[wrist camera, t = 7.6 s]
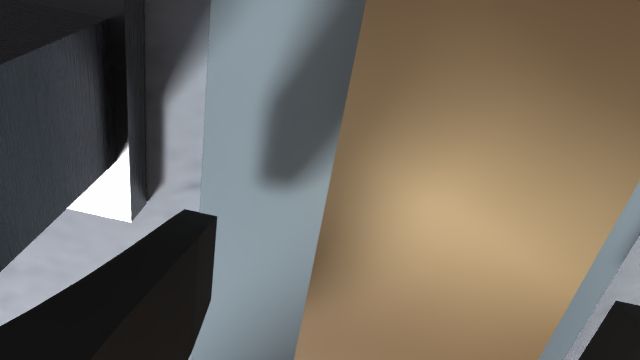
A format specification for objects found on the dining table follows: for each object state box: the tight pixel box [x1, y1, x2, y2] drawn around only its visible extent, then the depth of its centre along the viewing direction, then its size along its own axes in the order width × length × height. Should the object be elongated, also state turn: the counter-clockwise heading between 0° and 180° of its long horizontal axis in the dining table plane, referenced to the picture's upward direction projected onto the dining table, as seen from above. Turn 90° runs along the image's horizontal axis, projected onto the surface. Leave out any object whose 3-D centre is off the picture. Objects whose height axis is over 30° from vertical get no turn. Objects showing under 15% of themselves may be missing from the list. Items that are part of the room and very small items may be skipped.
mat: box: [192, 0, 640, 360], centre depth 11 cm, size 20×9×1 cm, turn 170°
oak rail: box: [294, 0, 640, 360], centre depth 9 cm, size 16×4×4 cm, turn 171°
